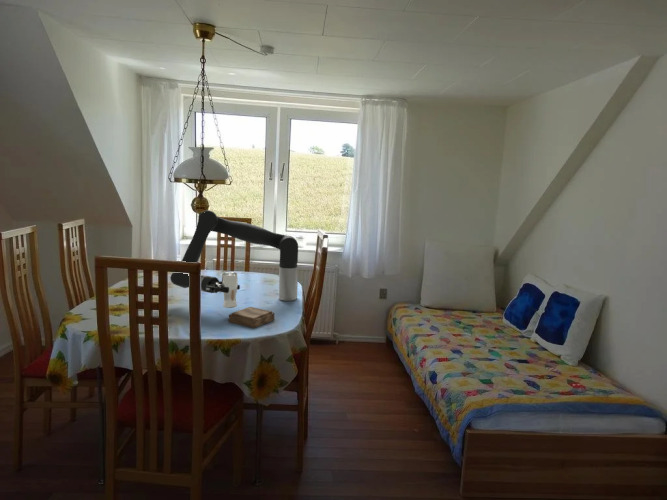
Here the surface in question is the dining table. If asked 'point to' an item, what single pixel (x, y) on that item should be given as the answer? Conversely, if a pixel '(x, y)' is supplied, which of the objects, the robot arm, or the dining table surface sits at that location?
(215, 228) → the robot arm
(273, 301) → the dining table surface
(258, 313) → the walnut stand
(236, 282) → the beer glass
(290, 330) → the dining table surface
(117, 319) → the dining table surface
